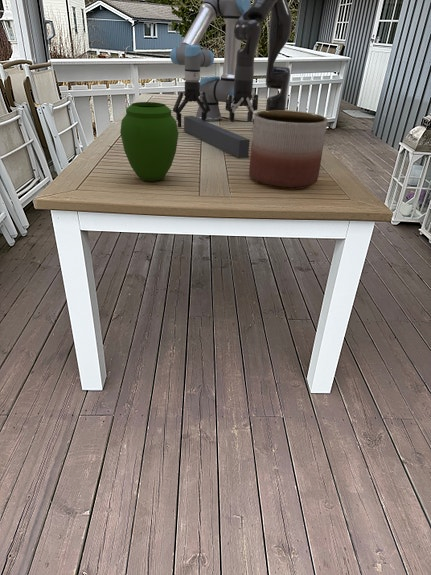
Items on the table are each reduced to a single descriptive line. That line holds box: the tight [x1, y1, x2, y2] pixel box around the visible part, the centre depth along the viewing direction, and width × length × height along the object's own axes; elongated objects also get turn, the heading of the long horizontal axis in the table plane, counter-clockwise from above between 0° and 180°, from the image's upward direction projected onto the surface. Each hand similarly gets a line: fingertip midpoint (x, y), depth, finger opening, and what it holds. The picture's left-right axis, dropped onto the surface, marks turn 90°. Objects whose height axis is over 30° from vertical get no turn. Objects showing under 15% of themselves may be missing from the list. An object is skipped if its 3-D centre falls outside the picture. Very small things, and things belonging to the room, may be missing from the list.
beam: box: [183, 115, 251, 159], centre depth 195 cm, size 56×5×7 cm, turn 28°
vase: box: [119, 101, 179, 182], centre depth 140 cm, size 20×20×24 cm
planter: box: [248, 109, 329, 190], centre depth 146 cm, size 25×25×22 cm
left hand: (191, 126), depth 213 cm, fingers open, 13 cm apart
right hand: (240, 121), depth 172 cm, fingers open, 8 cm apart
